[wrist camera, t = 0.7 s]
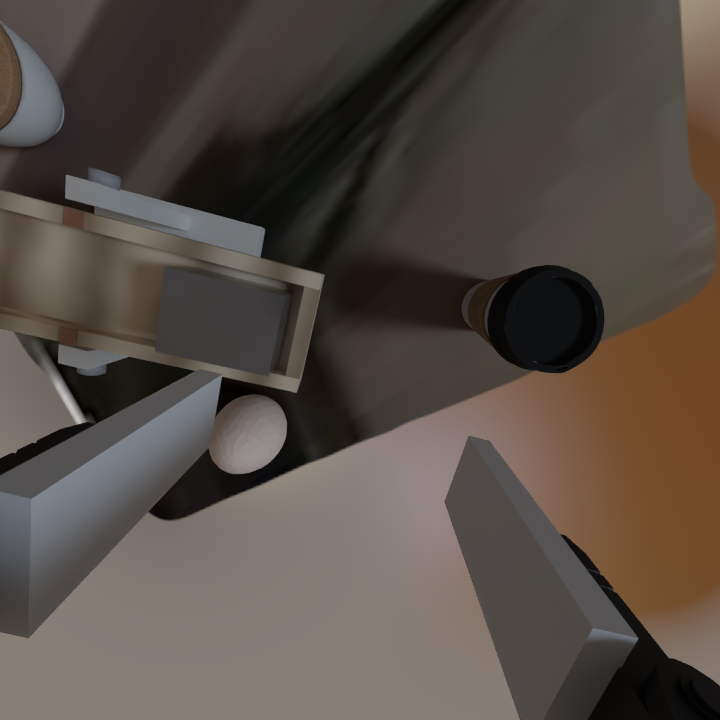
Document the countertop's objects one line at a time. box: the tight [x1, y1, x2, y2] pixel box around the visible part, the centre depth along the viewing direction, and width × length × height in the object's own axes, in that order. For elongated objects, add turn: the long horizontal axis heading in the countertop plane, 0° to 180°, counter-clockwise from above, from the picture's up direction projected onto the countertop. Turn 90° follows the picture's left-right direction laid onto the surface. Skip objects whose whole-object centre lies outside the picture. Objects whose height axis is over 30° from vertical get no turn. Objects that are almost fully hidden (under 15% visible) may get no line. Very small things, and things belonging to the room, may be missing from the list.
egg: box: [209, 394, 287, 474], centre depth 37 cm, size 8×8×11 cm
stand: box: [58, 168, 265, 375], centre depth 32 cm, size 18×16×14 cm
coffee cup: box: [462, 265, 604, 373], centre depth 32 cm, size 8×8×15 cm
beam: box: [0, 189, 325, 393], centre depth 27 cm, size 36×10×4 cm, turn 76°
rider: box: [155, 266, 294, 377], centre depth 26 cm, size 8×6×5 cm
